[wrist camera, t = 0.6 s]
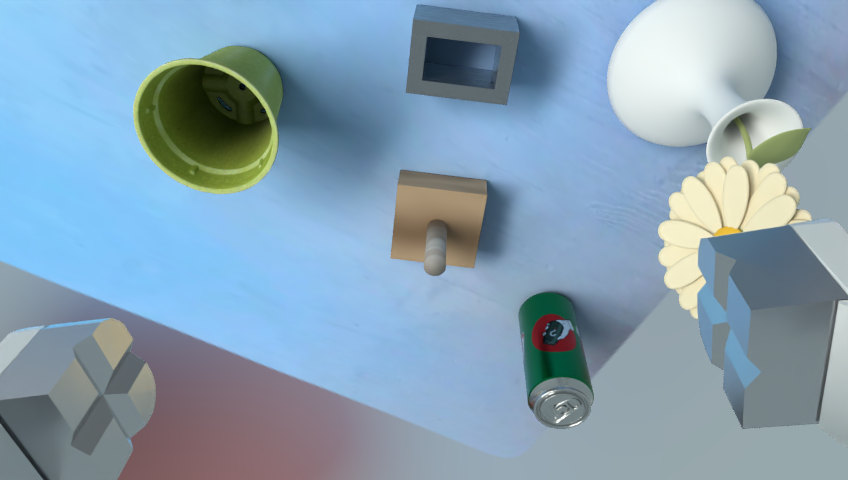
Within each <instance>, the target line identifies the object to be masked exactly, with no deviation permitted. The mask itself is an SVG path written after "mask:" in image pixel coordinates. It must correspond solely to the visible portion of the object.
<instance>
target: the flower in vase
mask: <svg viewBox="0 0 848 480" xmlns="http://www.w3.org/2000/svg"><path fill="white" fill-rule="evenodd" d="M776 62H777V42H776V37H775V32H774V29H773V26H772V23H771V21H770V20H769V18H768V16H767V14H766V13H765V12H764V10H763V9H762V8H761V7H760V6H759V5H758V4H757V3H756V2H755V1H754V0H657V1H655V2H654V3H652V4H651V5H650V6H648V7H647V8H645V9H644V10H643V11H642V12H641V13H640V14H639V15H637V16H636V17H635V18H634V19H633V21H632V22H631V23H630V24H629V25H628V26H627V28H626V29H625V31H624V32H623V33H622V35H621V36H620V38H619V40H618V42H617V44H616V46H615V48H614V50H613V53H612V55H611V59H610V63H609V67H608V74H607V89H608V95H609V100H610V103H611V106H612V108H613V110H614V112H615V114H616V116H617V117H618V119H619V120H620V121H621V123H622V124H623V125H624V126H625V127H626V128H627V129H628V130H630V131H631V132H632V133H633V134H635V135H637V136H638V137H640V138H642V139H644V140H647V141H649V142H652V143H656V144H660V145H664V146H673V147H686V146H694V145H699V144H703V143H706V142H707V148H706V155H707V160H708V164H707V165H706V167H705V169H704V171H701V172H700V173H699V174H698V175H697V177H693V176H688V177H686V178H685V179H684V180H683V182H682V189H681V191H680V192H675V193H673V194H671V196H670V198H669V205H670V208H671V211H670V219H671V220H668V221H664V222H662V223H661V224H660V226H659V228H658V233H659V236H660V237H661V239H663V240H664V245H665V247H664V248H662V249H661V251H660V252H659V255H658V258H659V261H660V263H661V264H662V265H664V266H666V268H667V272H666V274H665V276H664V282H665V284H666V286H667V287H668V288H670V289H676V291H677V293H678V294H679V295H680V296H679V303H680V305H681V307H682V308H683V309H685V310H690V312H691V315H692V316H693V317H694V318H695V319H698V313H697V293H698V292H699V291H700V289H701V288H702V287H703V286H704V285H705V283H706V281H705V279H704V277H703V275H702V273H701V271H700V269H699V267H698V248H699V244H700V240H701V238H708V237H714V236H721V235H727V234H734V233H740V232H747V231H753V230H760V229H766V228H773V227H779V226H784V225H788V224H793V223H799V222H805V221H811V220H812V217H811V215H810V213H809V212H808V211H806V210H803V209H796V208H797V206H798V204H799V201H800V196H799V193H798V191H797V190H796V189H795V188H793V187H787V180H786V178H785V177H784V176H783V175H782V174H781V173H780V171H781V170H783V169H784V168H785V167H786V166H787V165H788V164H789V163H790V162H791V161H792V160H793V159H794V157H795V156H796V154H797V153H798V151H799V149H800V148H801V146H802V145H803V143H804V141H805V138H806V136H807V134H808V132H809V131H810V130H811V128H803V123H802V120H801V118H800V116H799V114H798V113H797V112H796V110H795V109H794V108H792V107H791V106H790V105H788V104H786V103H784V102H782V101H779V100H774V99H764V97H765V95H766V93H767V91H768V90H769V88H770V85H771V82H772V80H773V77H774V73H775V69H776Z"/></svg>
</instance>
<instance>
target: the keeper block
mask: <svg viewBox="0 0 848 480" xmlns="http://www.w3.org/2000/svg"><path fill="white" fill-rule="evenodd" d="M486 200H487V182H486V180H480V179H472V178H464V177H455V176H447V175H439V174H430V173H422V172H414V171H406V170H400V175H399V181H398V188H397V198H396V208H395V218H394V229H393V239H392V249H391V258H393V259H401V260H410V261H418V262H424V270H425V271H426V273H428V274H429V275H432V276H438V275H441V274H442V273H443V272H444V271H445V268H446V265H452V266H460V267H469V268H474V265H475V259H476V254H477V248H478V243H479V238H480V232H481V227H482V221H483V216H484V210H485V205H486Z"/></svg>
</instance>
